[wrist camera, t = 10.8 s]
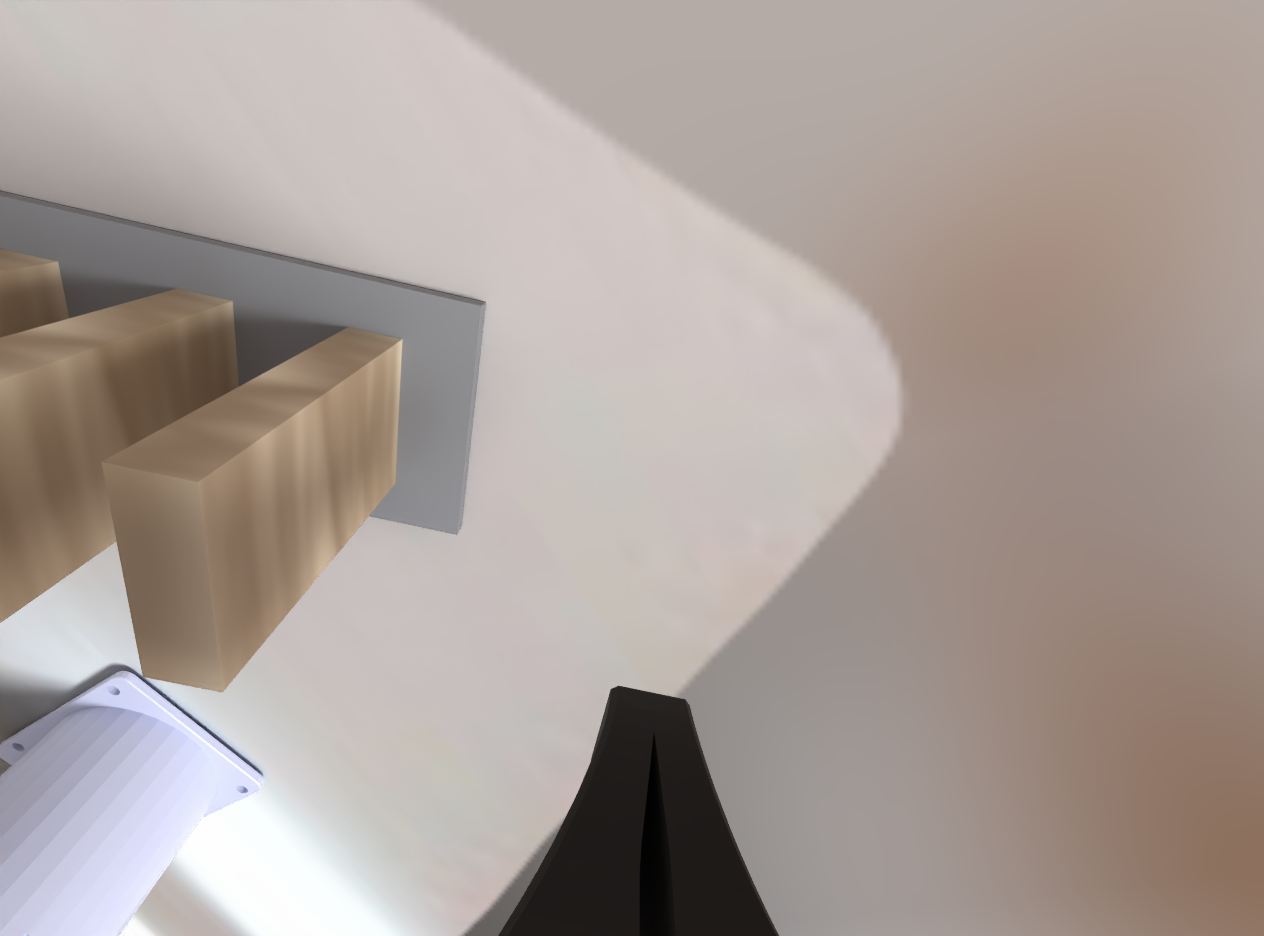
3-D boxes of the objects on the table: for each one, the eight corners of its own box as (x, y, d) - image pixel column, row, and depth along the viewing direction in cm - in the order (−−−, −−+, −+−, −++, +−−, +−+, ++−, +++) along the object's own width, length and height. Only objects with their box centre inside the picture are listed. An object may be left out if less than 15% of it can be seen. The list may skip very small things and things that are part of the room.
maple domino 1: (232, 300, 18) (-109, 417, 10) (244, 451, 21) (-29, 643, 13) (177, 288, 18) (-210, 396, 10) (194, 441, 21) (-112, 627, 12)
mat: (485, 302, 18) (480, 306, 18) (461, 526, 22) (457, 534, 22) (-450, 87, 17) (-480, 85, 17) (-314, 362, 21) (-335, 367, 20)
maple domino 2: (402, 339, 19) (198, 482, 11) (395, 483, 21) (222, 692, 13) (348, 327, 18) (101, 462, 10) (347, 473, 21) (143, 676, 13)
